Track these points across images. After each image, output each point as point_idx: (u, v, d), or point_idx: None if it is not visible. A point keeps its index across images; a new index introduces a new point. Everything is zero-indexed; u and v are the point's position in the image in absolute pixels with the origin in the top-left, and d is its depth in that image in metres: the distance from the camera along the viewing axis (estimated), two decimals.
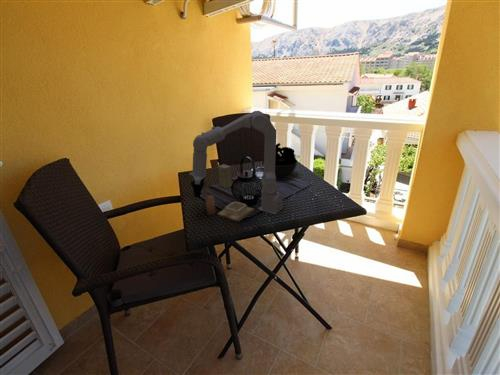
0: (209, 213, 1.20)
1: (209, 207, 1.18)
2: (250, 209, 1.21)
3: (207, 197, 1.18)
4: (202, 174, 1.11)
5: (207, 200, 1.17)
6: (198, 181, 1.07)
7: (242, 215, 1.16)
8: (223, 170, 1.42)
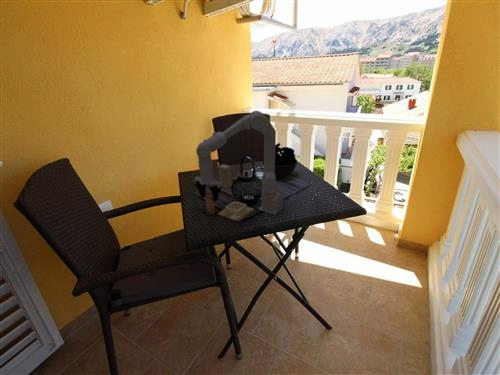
0: (209, 213, 1.20)
1: (209, 207, 1.18)
2: (250, 209, 1.21)
3: (207, 197, 1.18)
4: (213, 178, 1.15)
5: (207, 200, 1.17)
6: (220, 184, 1.12)
7: (242, 215, 1.16)
8: (223, 170, 1.42)
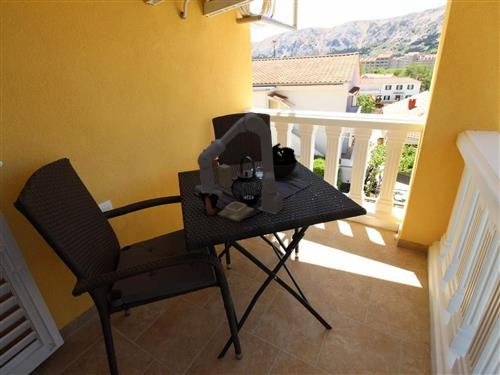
0: (209, 213, 1.20)
1: (209, 207, 1.18)
2: (250, 209, 1.21)
3: (207, 197, 1.18)
4: (214, 187, 1.16)
5: (207, 200, 1.17)
6: (221, 193, 1.13)
7: (242, 215, 1.16)
8: (223, 170, 1.42)
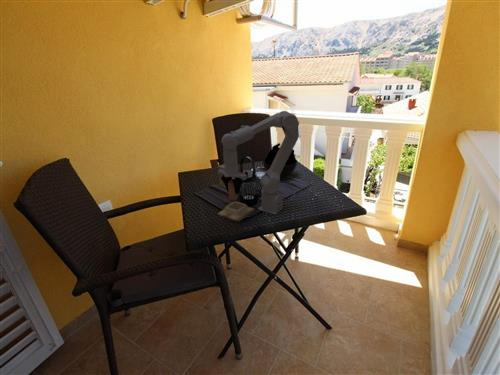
0: (231, 198, 1.16)
1: (232, 192, 1.14)
2: (250, 209, 1.21)
3: (230, 181, 1.14)
4: None
5: (230, 184, 1.13)
6: (246, 176, 1.09)
7: (242, 215, 1.16)
8: None
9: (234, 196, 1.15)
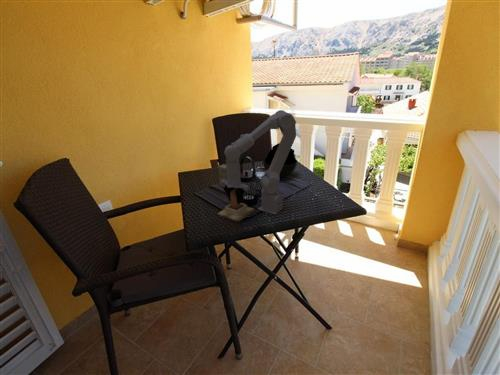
0: (234, 208, 1.17)
1: (234, 202, 1.16)
2: (250, 209, 1.21)
3: (232, 192, 1.16)
4: (240, 181, 1.14)
5: (232, 195, 1.15)
6: (248, 187, 1.11)
7: (242, 215, 1.16)
8: (223, 170, 1.42)
9: (236, 206, 1.17)
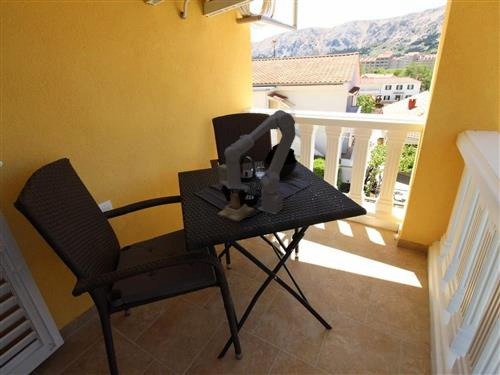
0: None
1: (234, 206, 1.17)
2: (250, 209, 1.21)
3: (232, 195, 1.17)
4: (240, 182, 1.14)
5: (232, 198, 1.16)
6: (248, 188, 1.11)
7: (242, 215, 1.16)
8: (223, 170, 1.42)
9: (236, 209, 1.18)
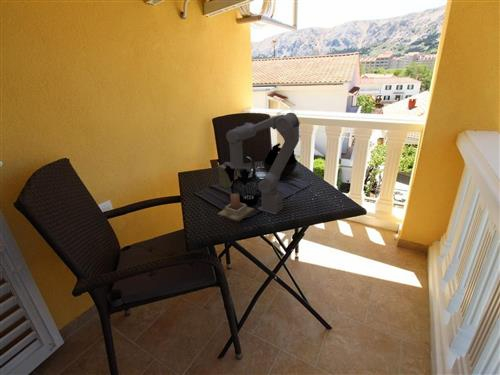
0: None
1: (234, 206, 1.17)
2: (250, 209, 1.21)
3: (232, 195, 1.17)
4: None
5: (232, 198, 1.16)
6: (250, 168, 1.19)
7: (242, 215, 1.16)
8: (223, 170, 1.42)
9: (236, 209, 1.18)
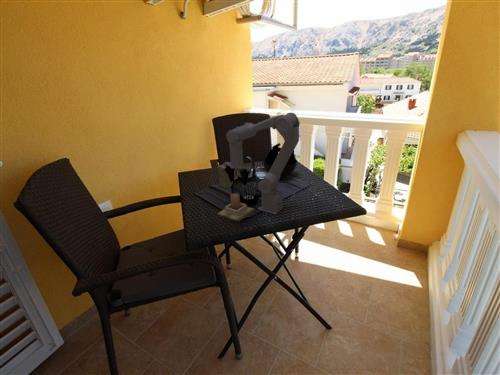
0: None
1: (234, 206, 1.17)
2: (250, 209, 1.21)
3: (232, 195, 1.17)
4: None
5: (232, 198, 1.16)
6: (250, 168, 1.19)
7: (242, 215, 1.16)
8: (223, 170, 1.42)
9: (236, 209, 1.18)
